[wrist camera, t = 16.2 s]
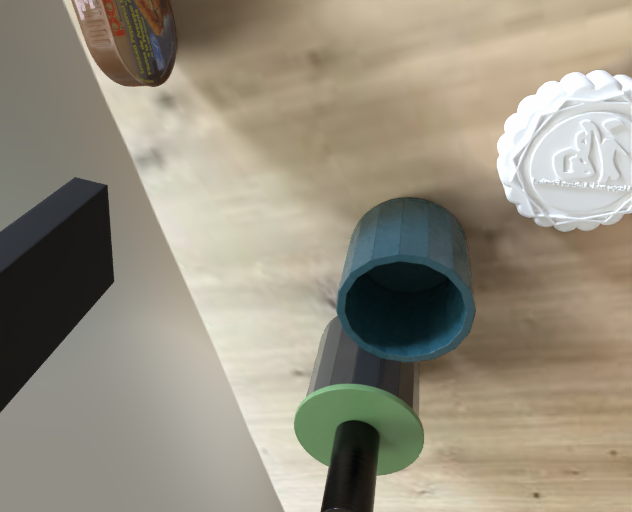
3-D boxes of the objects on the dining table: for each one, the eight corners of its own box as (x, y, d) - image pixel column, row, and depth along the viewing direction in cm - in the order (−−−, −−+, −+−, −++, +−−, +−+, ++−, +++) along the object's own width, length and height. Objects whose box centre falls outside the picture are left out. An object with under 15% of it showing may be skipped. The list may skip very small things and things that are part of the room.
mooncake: (689, 73, 37) (712, 86, 34) (631, 221, 43) (646, 244, 40) (513, 64, 38) (520, 76, 35) (483, 208, 45) (487, 228, 42)
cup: (404, 300, 52) (399, 381, 43) (429, 375, 57) (429, 462, 47) (308, 316, 55) (285, 394, 46) (339, 386, 60) (323, 469, 51)
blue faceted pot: (453, 184, 44) (458, 241, 36) (477, 283, 49) (486, 352, 41) (336, 212, 48) (318, 269, 40) (369, 302, 53) (359, 369, 45)
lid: (405, 370, 43) (399, 471, 35) (437, 461, 48) (438, 566, 40) (278, 386, 46) (247, 481, 39) (321, 468, 52) (301, 566, 44)
